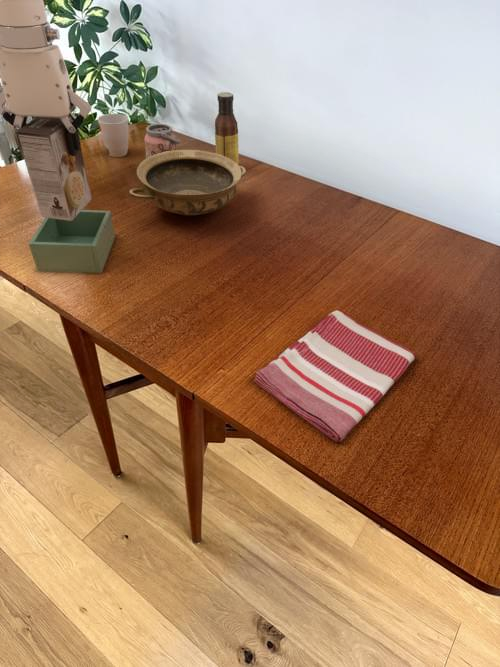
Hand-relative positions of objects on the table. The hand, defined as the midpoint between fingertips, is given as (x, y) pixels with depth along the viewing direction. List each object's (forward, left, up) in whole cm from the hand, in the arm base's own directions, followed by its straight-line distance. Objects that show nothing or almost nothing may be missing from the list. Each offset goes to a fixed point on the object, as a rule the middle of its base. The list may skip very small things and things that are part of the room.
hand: (53, 151), depth 83 cm
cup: (-2, +52, -22) cm, 56 cm away
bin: (0, 0, -22) cm, 22 cm away
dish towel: (+50, -32, -22) cm, 63 cm away
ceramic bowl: (+22, +21, -22) cm, 37 cm away
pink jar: (+13, +41, -22) cm, 48 cm away
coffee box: (0, 0, -11) cm, 11 cm away
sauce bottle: (+30, +44, -22) cm, 58 cm away
